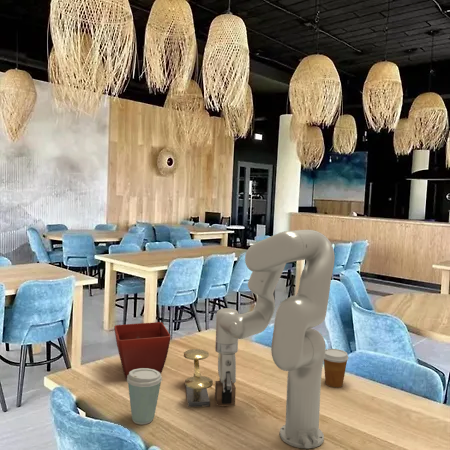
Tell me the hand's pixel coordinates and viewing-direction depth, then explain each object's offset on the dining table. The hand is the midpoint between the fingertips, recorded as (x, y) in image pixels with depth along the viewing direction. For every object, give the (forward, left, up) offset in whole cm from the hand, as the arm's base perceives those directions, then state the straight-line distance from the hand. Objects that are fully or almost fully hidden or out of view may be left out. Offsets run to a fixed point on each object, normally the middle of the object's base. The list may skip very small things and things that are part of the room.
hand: (224, 397), depth 149 cm
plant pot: (+26, +29, -2) cm, 39 cm away
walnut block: (0, 0, -1) cm, 1 cm away
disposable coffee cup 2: (+11, -43, -2) cm, 44 cm away
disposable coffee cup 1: (-10, +26, -2) cm, 28 cm away
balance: (+6, +9, -1) cm, 11 cm away
